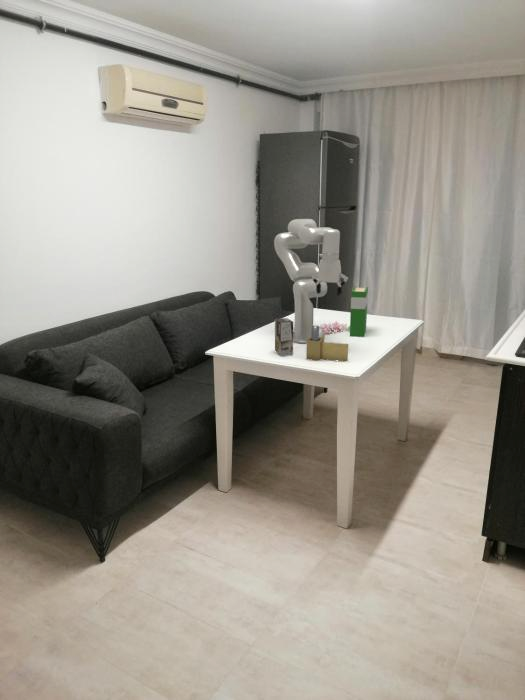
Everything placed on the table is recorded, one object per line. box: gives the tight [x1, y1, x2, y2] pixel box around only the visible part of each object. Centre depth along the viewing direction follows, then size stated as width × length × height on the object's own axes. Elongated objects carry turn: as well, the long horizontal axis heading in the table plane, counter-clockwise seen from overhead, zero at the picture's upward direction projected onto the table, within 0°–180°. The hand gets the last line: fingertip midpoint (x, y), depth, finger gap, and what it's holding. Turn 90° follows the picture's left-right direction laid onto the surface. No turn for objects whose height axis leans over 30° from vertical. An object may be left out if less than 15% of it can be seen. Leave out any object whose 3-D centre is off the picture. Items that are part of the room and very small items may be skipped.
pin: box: [311, 325, 320, 341], centre depth 250 cm, size 3×3×15 cm
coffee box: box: [274, 317, 294, 357], centre depth 258 cm, size 9×6×16 cm
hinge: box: [306, 333, 349, 362], centre depth 254 cm, size 18×18×9 cm
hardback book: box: [349, 286, 369, 338], centre depth 295 cm, size 18×7×24 cm, turn 166°
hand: (328, 294), depth 255 cm, fingers open, 9 cm apart
